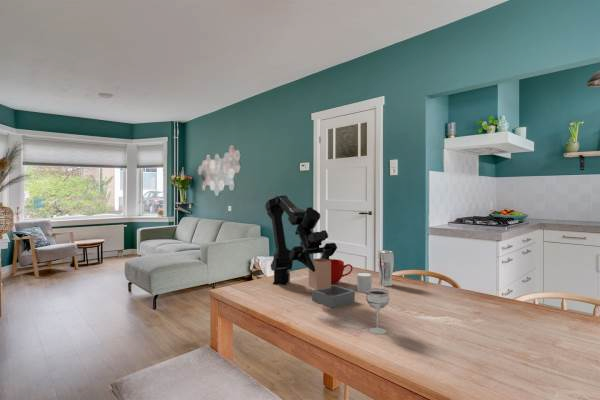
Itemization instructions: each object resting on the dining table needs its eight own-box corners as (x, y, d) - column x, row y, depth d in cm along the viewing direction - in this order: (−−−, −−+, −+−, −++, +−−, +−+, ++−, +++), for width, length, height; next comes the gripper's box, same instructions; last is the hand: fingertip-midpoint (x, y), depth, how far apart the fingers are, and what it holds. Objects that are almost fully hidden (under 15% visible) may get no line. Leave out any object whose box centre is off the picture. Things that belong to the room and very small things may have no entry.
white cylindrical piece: (373, 293, 138) (373, 276, 138) (357, 293, 138) (357, 276, 138) (370, 288, 145) (370, 272, 144) (355, 288, 145) (354, 272, 145)
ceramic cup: (354, 287, 146) (354, 265, 145) (315, 287, 146) (315, 265, 146) (350, 279, 159) (350, 258, 158) (315, 279, 159) (315, 259, 159)
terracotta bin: (308, 286, 125) (308, 259, 124) (322, 283, 128) (322, 258, 127) (317, 290, 119) (316, 262, 119) (331, 287, 122) (330, 260, 122)
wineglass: (381, 337, 96) (381, 296, 96) (362, 330, 101) (361, 291, 101) (393, 330, 101) (393, 291, 101) (373, 324, 106) (373, 286, 105)
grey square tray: (312, 300, 129) (311, 290, 129) (333, 294, 136) (333, 284, 136) (333, 308, 120) (333, 297, 120) (354, 301, 128) (354, 291, 127)
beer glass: (374, 283, 151) (374, 251, 151) (386, 281, 154) (386, 249, 154) (384, 287, 145) (384, 253, 145) (397, 285, 148) (397, 252, 148)
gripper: (292, 224, 122) (306, 260, 113) (334, 222, 131) (351, 254, 121) (283, 243, 129) (296, 277, 120) (324, 239, 138) (339, 271, 128)
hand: (321, 270), depth 122 cm, fingers closed on terracotta bin, 6 cm apart
